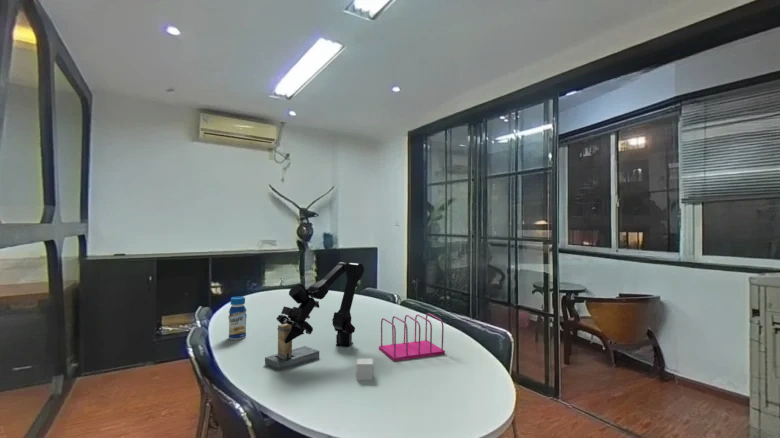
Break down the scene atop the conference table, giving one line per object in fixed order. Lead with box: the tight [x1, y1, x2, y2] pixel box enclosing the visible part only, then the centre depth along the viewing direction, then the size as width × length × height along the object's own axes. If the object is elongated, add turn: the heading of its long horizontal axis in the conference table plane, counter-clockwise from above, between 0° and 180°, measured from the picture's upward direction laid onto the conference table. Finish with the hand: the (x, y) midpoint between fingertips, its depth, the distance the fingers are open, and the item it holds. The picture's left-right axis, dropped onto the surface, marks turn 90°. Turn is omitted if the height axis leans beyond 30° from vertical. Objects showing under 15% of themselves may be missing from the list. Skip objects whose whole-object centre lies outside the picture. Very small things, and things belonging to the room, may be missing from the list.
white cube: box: [355, 358, 374, 381], centre depth 152 cm, size 6×6×6 cm
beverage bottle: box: [228, 295, 248, 341], centre depth 200 cm, size 8×8×20 cm
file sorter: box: [378, 312, 446, 362], centre depth 181 cm, size 17×25×16 cm
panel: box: [264, 345, 320, 372], centre depth 168 cm, size 20×10×3 cm, turn 140°
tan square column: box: [277, 324, 293, 359], centre depth 165 cm, size 4×4×13 cm
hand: (282, 341), depth 164 cm, fingers closed on tan square column, 4 cm apart
